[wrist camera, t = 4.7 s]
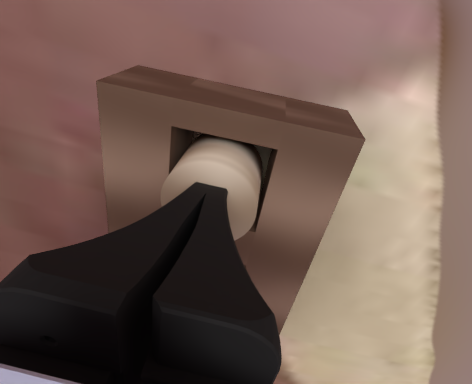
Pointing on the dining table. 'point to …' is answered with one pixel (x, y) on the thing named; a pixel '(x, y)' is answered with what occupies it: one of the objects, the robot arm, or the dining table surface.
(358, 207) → the dining table surface
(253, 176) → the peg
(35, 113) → the dining table surface
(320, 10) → the dining table surface
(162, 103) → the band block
